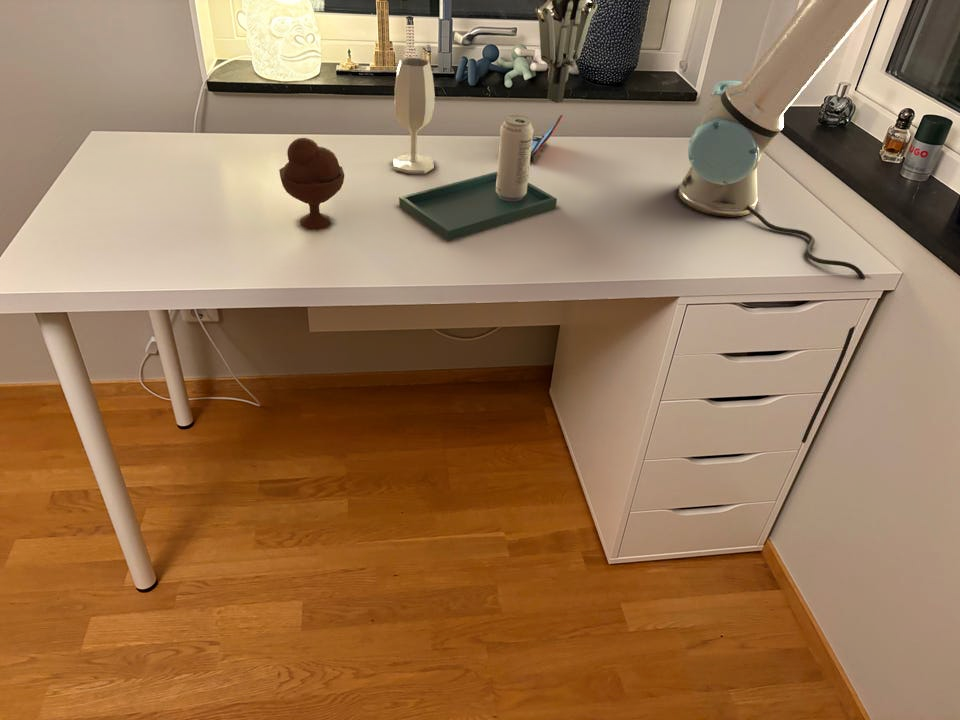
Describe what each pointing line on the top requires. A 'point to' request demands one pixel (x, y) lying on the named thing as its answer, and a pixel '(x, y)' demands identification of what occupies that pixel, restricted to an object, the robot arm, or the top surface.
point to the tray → (472, 206)
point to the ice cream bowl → (311, 179)
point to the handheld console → (542, 140)
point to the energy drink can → (514, 158)
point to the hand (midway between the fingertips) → (554, 100)
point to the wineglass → (414, 109)
